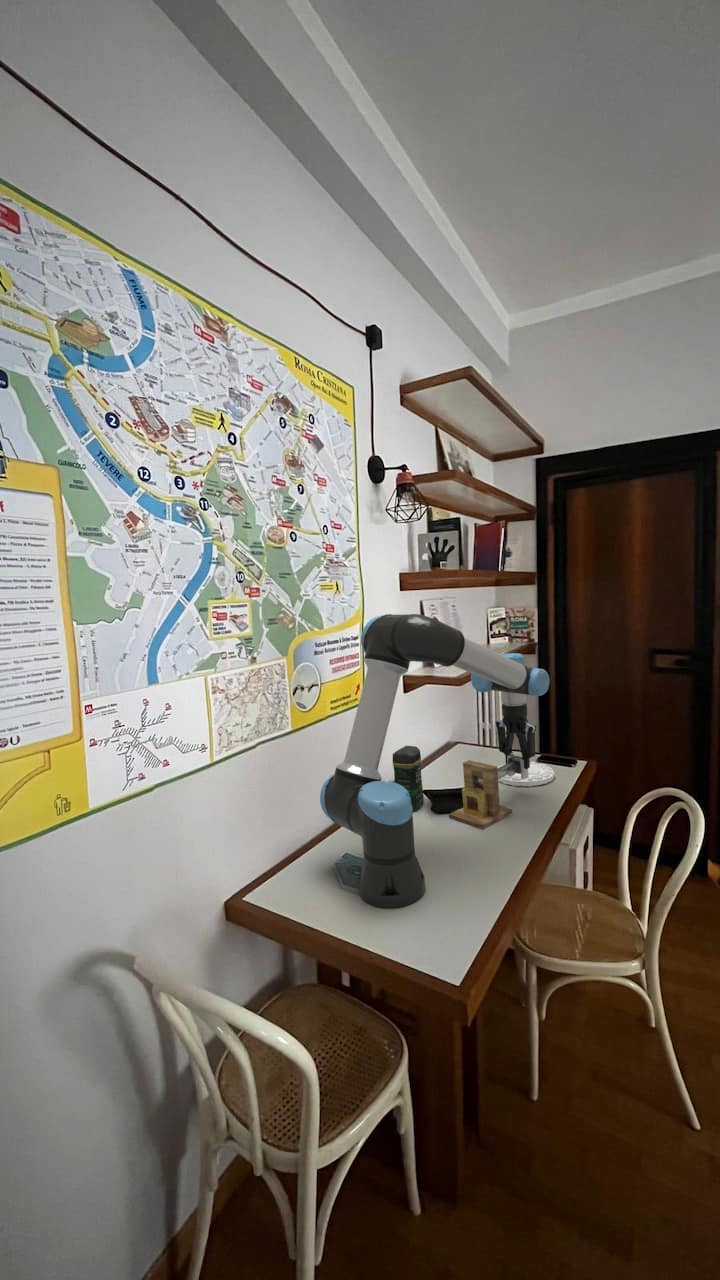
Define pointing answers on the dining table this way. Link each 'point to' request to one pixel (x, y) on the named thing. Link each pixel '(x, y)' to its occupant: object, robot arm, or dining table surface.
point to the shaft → (505, 769)
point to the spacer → (468, 803)
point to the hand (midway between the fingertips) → (518, 776)
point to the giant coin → (530, 776)
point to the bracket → (489, 786)
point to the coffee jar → (409, 773)
